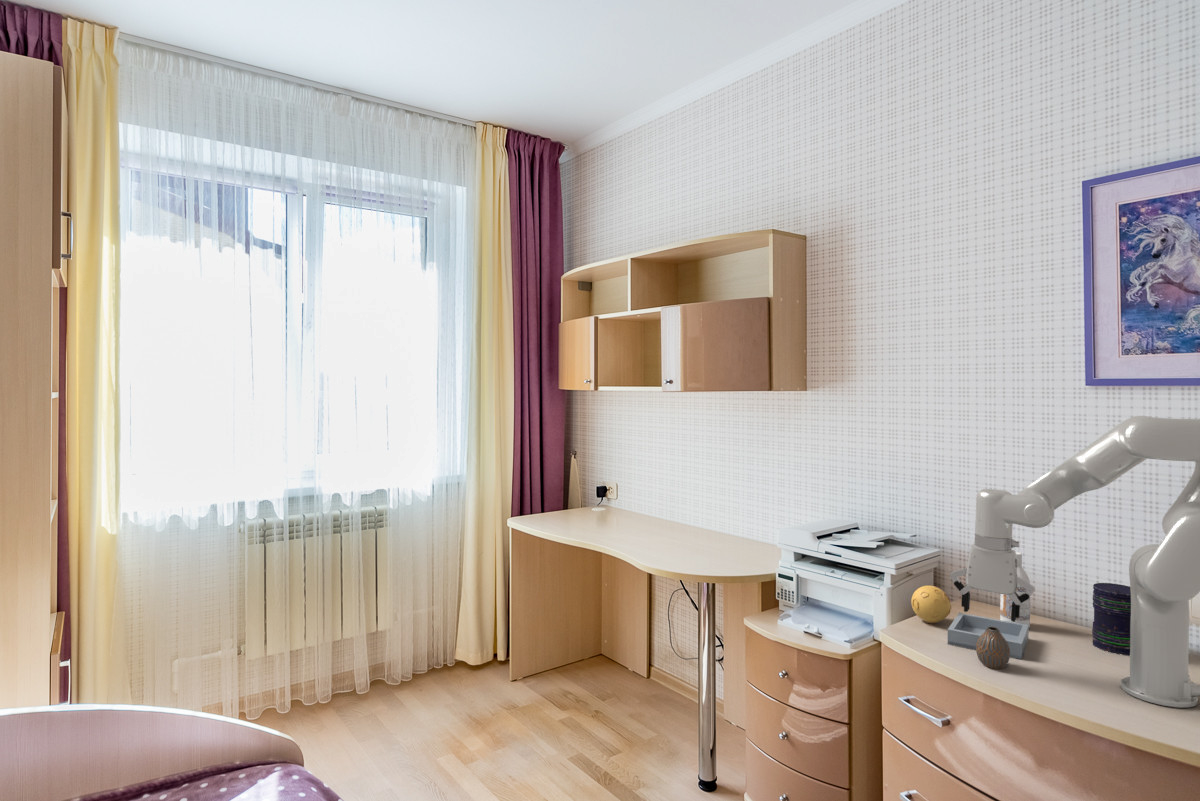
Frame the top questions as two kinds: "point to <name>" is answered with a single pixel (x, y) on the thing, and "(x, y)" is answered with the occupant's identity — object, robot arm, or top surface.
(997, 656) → the vase
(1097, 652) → the top surface
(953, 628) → the bin
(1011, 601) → the bath foam
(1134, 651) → the robot arm
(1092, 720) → the top surface
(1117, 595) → the storage jar
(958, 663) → the top surface
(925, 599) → the stress ball
